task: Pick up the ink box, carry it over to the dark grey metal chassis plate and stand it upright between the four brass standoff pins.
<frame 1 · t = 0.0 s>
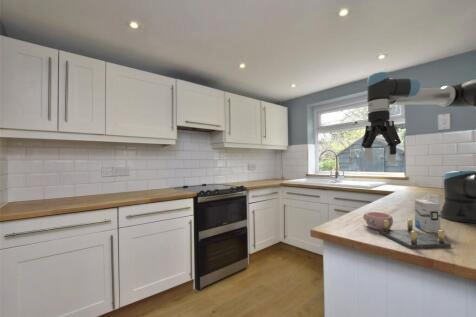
hand: (379, 163, 91), 28 cm above the counter, fingers open, 13 cm apart
ink box: (427, 229, 92), on the counter
chassis: (411, 239, 81), on the counter
pink bowl: (376, 228, 95), on the counter
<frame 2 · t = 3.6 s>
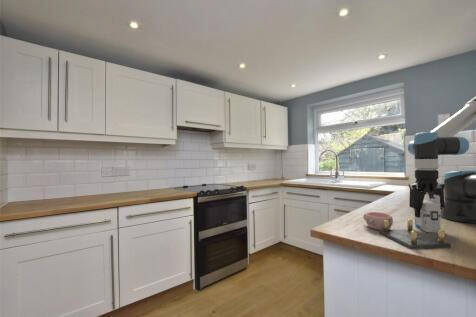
hand: (427, 224, 91), 2 cm above the counter, fingers closed on ink box, 6 cm apart
ink box: (427, 229, 91), on the counter, touching gripper
everything else where it was.
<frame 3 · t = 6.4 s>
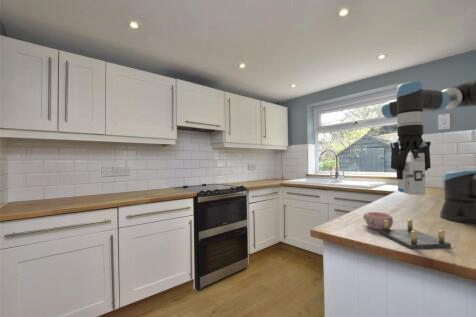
hand: (410, 188, 81), 19 cm above the counter, fingers closed on ink box, 6 cm apart
ink box: (410, 193, 81), point 17 cm above the counter, touching gripper
everything else where it was.
when the fingers open (4 cm above the counter, at t = 9.4 s): ink box drops 1 cm, resting on chassis.
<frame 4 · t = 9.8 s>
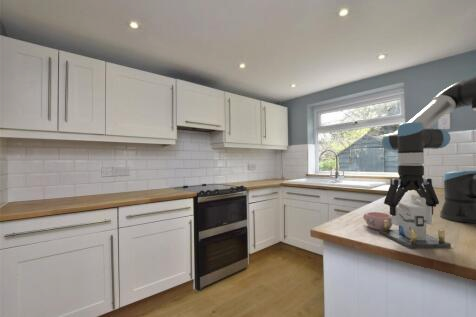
hand: (411, 224, 81), 6 cm above the counter, fingers open, 11 cm apart
ink box: (411, 236, 81), point 1 cm above the counter, touching chassis
everything else where it was.
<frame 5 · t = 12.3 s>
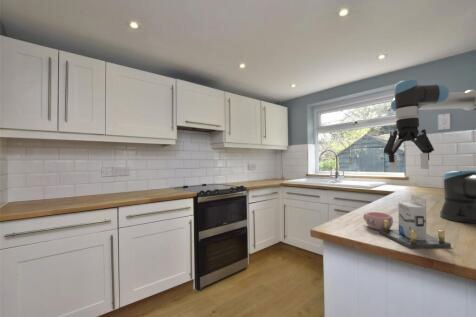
hand: (409, 169, 91), 25 cm above the counter, fingers open, 13 cm apart
nothing on the counter moved.
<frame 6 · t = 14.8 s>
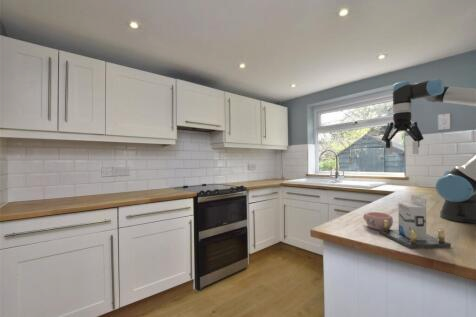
hand: (402, 154, 113), 32 cm above the counter, fingers open, 13 cm apart
nothing on the counter moved.
at the end: ink box inside the target area on the chassis (0.1 cm from its centre), point 1.0 cm above the chassis's base; ink box tilted 0°; the gripper is holding nothing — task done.
